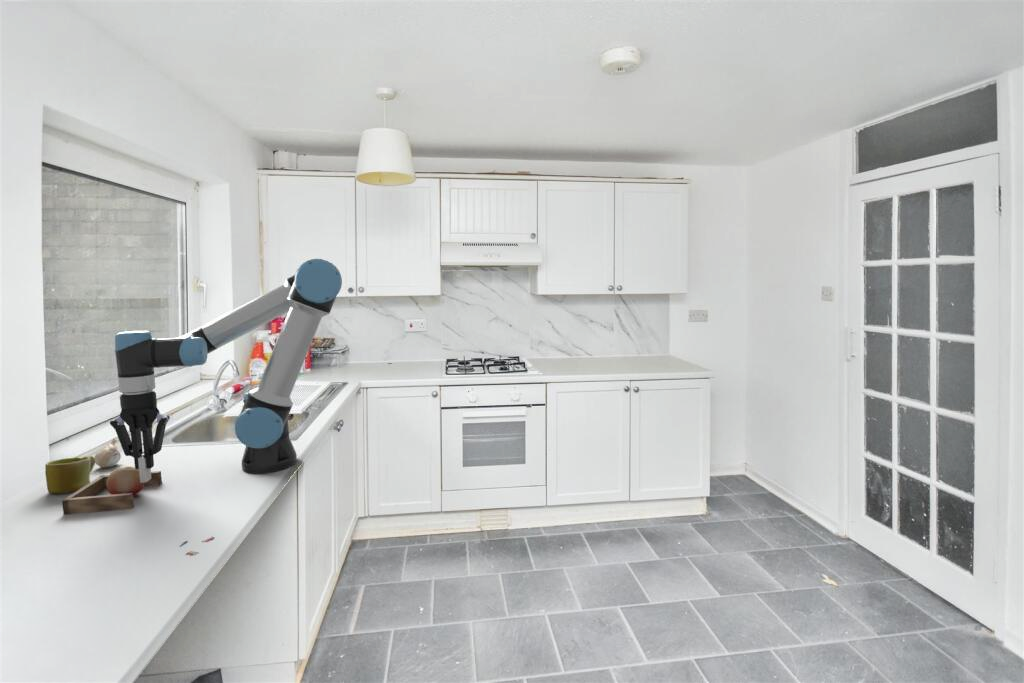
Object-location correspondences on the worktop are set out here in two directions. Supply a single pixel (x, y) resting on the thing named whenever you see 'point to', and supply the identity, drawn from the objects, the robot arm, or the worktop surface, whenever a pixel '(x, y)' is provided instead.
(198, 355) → the robot arm
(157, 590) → the worktop surface
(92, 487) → the wooden frame
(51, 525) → the worktop surface
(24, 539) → the worktop surface
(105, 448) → the garlic bulb
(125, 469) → the fruit
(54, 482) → the mug
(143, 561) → the worktop surface
